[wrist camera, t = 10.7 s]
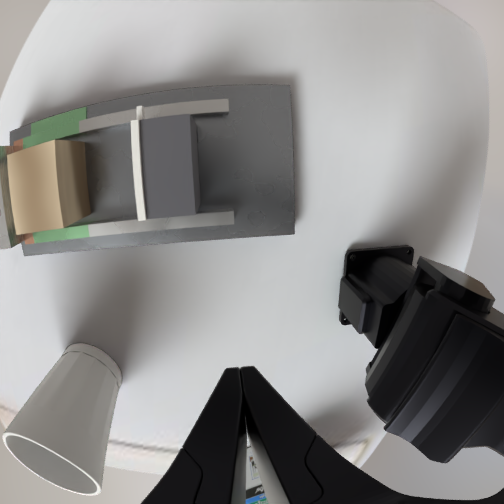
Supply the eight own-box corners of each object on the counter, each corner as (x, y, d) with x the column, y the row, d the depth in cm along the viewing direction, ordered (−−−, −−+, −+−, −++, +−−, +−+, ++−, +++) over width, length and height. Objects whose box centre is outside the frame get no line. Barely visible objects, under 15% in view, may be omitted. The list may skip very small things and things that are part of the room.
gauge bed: (285, 89, 17) (294, 80, 15) (290, 230, 20) (299, 239, 18) (18, 132, 15) (0, 131, 13) (31, 251, 19) (16, 261, 16)
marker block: (84, 141, 16) (54, 139, 12) (91, 214, 17) (63, 228, 13) (40, 153, 15) (7, 155, 12) (47, 220, 17) (16, 234, 13)
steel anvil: (22, 145, 15) (-2, 146, 12) (32, 236, 17) (11, 248, 14) (10, 150, 15) (-14, 151, 12) (20, 238, 17) (-2, 249, 14)
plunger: (196, 109, 16) (188, 95, 12) (200, 203, 18) (195, 215, 14) (148, 115, 16) (128, 104, 12) (154, 207, 17) (136, 221, 13)
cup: (43, 340, 21) (-16, 425, 10) (107, 330, 21) (52, 440, 10) (81, 399, 24) (48, 486, 12) (143, 395, 24) (122, 500, 13)
